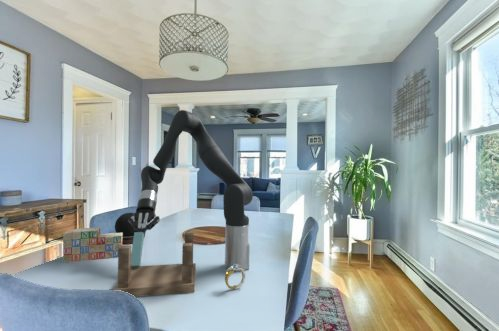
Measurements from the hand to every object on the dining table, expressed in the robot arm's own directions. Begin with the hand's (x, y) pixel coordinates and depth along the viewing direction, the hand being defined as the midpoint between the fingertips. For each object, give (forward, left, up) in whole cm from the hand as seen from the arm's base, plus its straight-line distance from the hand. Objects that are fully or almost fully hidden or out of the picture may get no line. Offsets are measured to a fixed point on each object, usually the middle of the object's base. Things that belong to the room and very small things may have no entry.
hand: (140, 238), depth 100 cm
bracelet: (-34, +23, -12) cm, 43 cm away
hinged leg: (0, +7, -8) cm, 11 cm away
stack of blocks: (+22, -15, -12) cm, 29 cm away
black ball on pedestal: (+14, -37, -12) cm, 41 cm away
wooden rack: (-9, +14, -11) cm, 20 cm away
